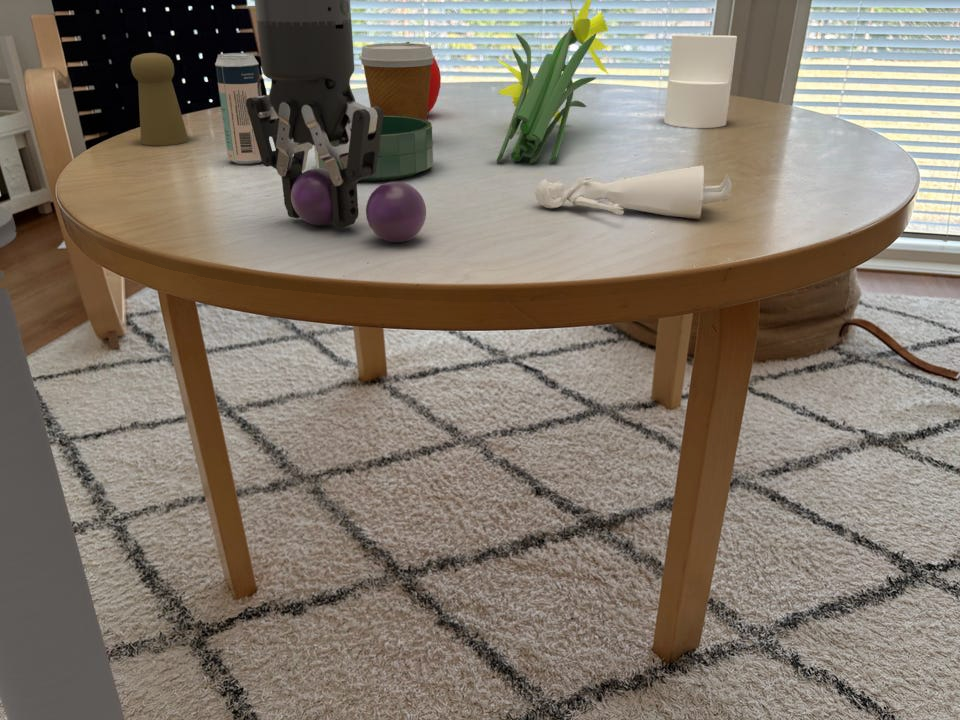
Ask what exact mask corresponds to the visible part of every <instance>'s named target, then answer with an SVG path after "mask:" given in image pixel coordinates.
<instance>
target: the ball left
mask: <svg viewBox="0 0 960 720" xmlns="http://www.w3.org/2000/svg"><path fill="white" fill-rule="evenodd" d="M331 185H334V184H333V183H332V181H331V178H330V175H329V172H328V170H327V169H323V168H317V167H316V168H315V167H314V168H310V169H307V170H304V171H303V172H302V174H301V175H300V176H299V177H298V178H297V179H296V180H295V182H294V184H293V186H292V190H291V202H292V205H293V208H294V210H295V212H296V213H297V214H298V216H299V218H300V219H301V220H302V221H304V222H306V223H308V224H310V225H312V226H319V227H320V226H321V227H322V226H328V225H332V224H334V223H333V213H332V200H331V188H330V186H331Z"/></svg>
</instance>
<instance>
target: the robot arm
mask: <svg viewBox="0 0 960 720" xmlns="http://www.w3.org/2000/svg"><path fill="white" fill-rule="evenodd" d="M254 7H255V9H254V10H255V17H256V27H257V35H258V45H259V54H260V62H261V70H262V74H263V75H264V76H265V77H266V78H267V79H270V80H271V85H270V89H269V93H268V94H265V95H264V94H263V95H262V96H258V97H252V98H248V99H247V100H246V107H247V110H248V114H249V117H250V121H251V125H252V128H253V132H254V135H255V139H256V142H257V146H258V149H259V153H260V156H261V160H262V162H261V163H262V164H263V166H264V167H267V168H268V167H271V168H273V169H275V170H276V172H277V174H278V176H280V177H281V183H282V193H283V203H284V207H285V209H286V211H287V215H288V217H290V218H294V219H298V218H300V217H299V216H298V214H297V213H296V212H295V210H294V208H293V205H292V202H291V190H292V186H293V184H294V182H295V180H296V179H297V178H298V177H299V176H300V175H301V174H302V173H303V172H305V171H306V166H307V161H308V156H309V151H310V150H312V148H314V145H315V147H316V150H317V153H318V156H319V158H320V159H321V160H323V161H325V163H326V166H327V169H328V172H329V175H330V178H331V181H332V183H333V184H334V185H331V186H330V188H331V200H332V213H333V223H332V224H333V226H334V227H336V228H341V229H344V228H347V227H349V226H352V225H354V224H355V223H356V220H357V219H358V217H359V202H358V201H359V199H358V183H359V181H361V180H360V179H362V178H365V177H370V176H373V175H374V174H375V173H376V166H377V159H378V152H379V145H380V137H381V130H382V123H383V111H382V109H381V108H380V107H378V106H376V107H371V106H370V107H368V106H366V105H364V104H361V103H359V102H357V101H356V98H355V95H354V93H353V90H352V87H351V85H350V84H351V83H350V82H351V78H352V75H353V74H354V72H355V56H354V55H355V54H354V39H353V38H354V37H353V25H352V24H353V23H352V9H351V0H254ZM349 120H350V123H349V124H348V122H349ZM350 130H351V131H350ZM270 138H272V142H273V146H274V149H275V150H273V148H272V144H271V141H270ZM338 140H339V146H336V147H333V146H332V145H331V144H332V143H336V142H337V141H338ZM339 157H340V158H341V160H342V163H343V166H344V169H342V167H341V164H340V161H339Z"/></svg>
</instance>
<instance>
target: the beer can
mask: <svg viewBox="0 0 960 720" xmlns="http://www.w3.org/2000/svg"><path fill="white" fill-rule="evenodd" d="M214 65H215V71H216V78H217V86H218V87H217V88H218V94H219V102H220V109H221V116H222V122H223V124H222V125H223V130H224V138H225V145H226V153H227V159H228V160H229V161H231V162H233V163H234V164H237V165H255V164H260V163H262V160H261V156H260V153H259V149H258V146H257V142H256V139H255V135H254V132H253V128H252V125H251V121H250V117H249V114H248V110H247V107H246V100H247V99H248V98H252V97H258V96H263V94H262V92H263V91H262V84H261V76H260V75H261V74H260V66H259V61H258V60H257V59H256V57H255V55H254V53H252V52H251V53H249V52H231V53H230V52H228V53H220V54H219V53H218V54H217V57H216V61H215V63H214Z"/></svg>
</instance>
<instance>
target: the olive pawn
mask: <svg viewBox="0 0 960 720" xmlns="http://www.w3.org/2000/svg"><path fill="white" fill-rule="evenodd" d="M130 70H131V74H132V76H133V77H134V78H135V80H136V81H137V83H138V84H137V86H138V107H139V108H138V109H139V129H140V131H139V132H140V143H141V144H142V145H145V146H158V147H159V146H171V145H172V146H173V145H180V144H182V143H186V142H188V141H190V139H189V136H188V132H187V129H186V125H185V122H184V119H183V115H182V112H181V108H180V103H179V101H178V98H177V94H176V91H175V87H174V84H173V81H172V80H173V78H174V76H175V65H174V62H173V60H172V58H171V57H170V56H168V55H167V54H163V53H159V52H148V53H147V52H146V53H145V52H144V53H140V54H138V55H137V54H136V55H135V56H133V57H132V59H131V61H130Z"/></svg>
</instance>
